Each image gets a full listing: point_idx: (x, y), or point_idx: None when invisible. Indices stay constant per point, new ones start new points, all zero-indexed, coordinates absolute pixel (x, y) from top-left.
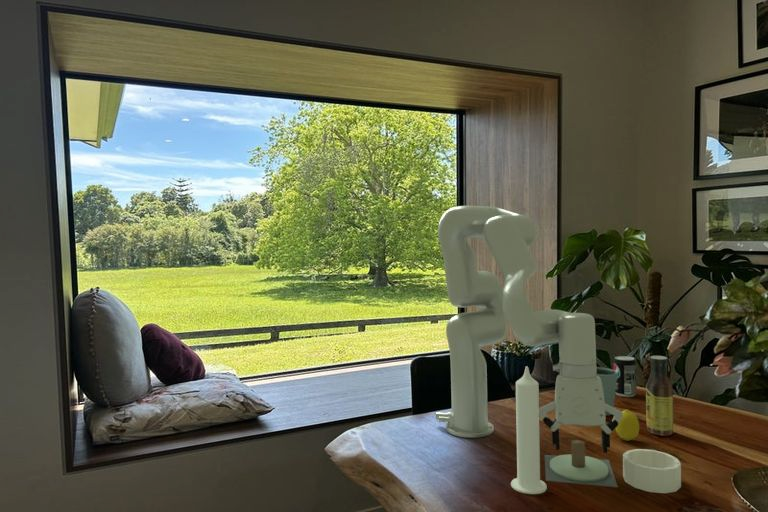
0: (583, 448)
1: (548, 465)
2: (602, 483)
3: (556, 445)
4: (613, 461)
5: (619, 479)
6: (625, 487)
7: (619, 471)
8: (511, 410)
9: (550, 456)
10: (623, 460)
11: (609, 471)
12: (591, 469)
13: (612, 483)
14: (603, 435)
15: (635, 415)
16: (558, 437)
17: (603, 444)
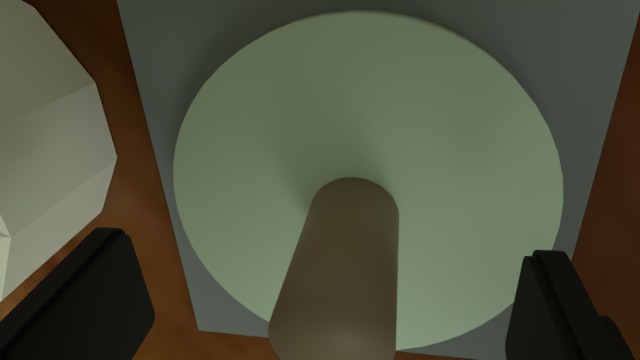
0: (290, 277)
1: None
2: (209, 14)
3: (573, 279)
4: (183, 327)
5: (132, 130)
6: (85, 21)
7: (144, 228)
8: None
9: None
10: (27, 190)
11: None
12: (272, 164)
13: (150, 32)
14: (10, 354)
15: None
16: (578, 357)
17: (83, 277)
